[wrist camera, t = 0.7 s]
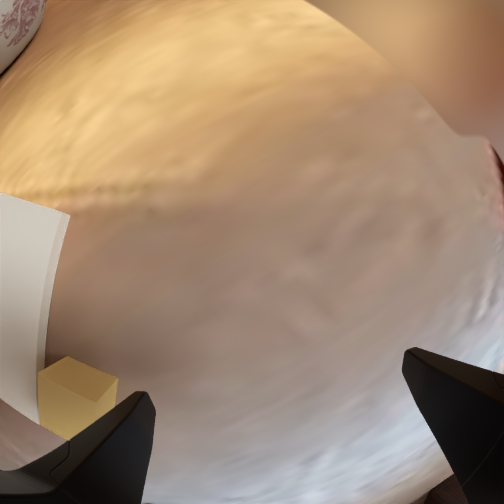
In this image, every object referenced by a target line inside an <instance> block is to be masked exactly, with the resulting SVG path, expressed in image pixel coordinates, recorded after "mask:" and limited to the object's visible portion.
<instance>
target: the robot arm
mask: <svg viewBox="0 0 504 504" xmlns="http://www.w3.org/2000/svg"><path fill="white" fill-rule="evenodd" d="M402 373H403V376H404V378H405V380H406V382H407V385H408V387H409V389H410V391H411V394H412V396H413V398H414V400H415V403H416V405H417V406H418V408H419V410H420V412H421V414H422V415H423V417H424V419H425V420H426V422H427V424H428V426H429V427H430V429H431V431H432V433H433V435H434V436H435V438H436V440H437V442H438V444H439V446H440V447H441V449H442V451H443V453H444V455H445V457H446V459H447V461H448V463H449V464H450V466H451V468H452V470H453V472H454V474H455V476H456V478H457V480H458V482H459V484H460V486H461V489H462V491H463V493H464V495H465V497H466V500H467V502H468V504H504V374H500V373H497V372H492V371H490V370H487V369H483V368H480V367H477V366H473V365H470V364H467V363H464V362H461V361H457V360H454V359H451V358H448V357H445V356H442V355H439V354H436V353H433V352H429V351H426V350H423V349H420V348H417V347H413V348H410V349H407V350H406V351H405V353H404V358H403V365H402ZM155 416H156V410H155V407H154V405H153V403H152V401H151V399H150V397H149V395H148V393H147V392H145V391H136V392H134V393H133V394H131V395H130V396H129V397H127V398H126V399H125V400H123V401H122V402H121V403H119V404H118V405H117V406H115V407H114V408H113V409H111V410H110V411H108V412H107V413H106V414H104V415H103V416H102V417H100V418H99V419H98V420H96V421H95V422H93V423H92V424H91V425H89V426H88V427H86V428H85V429H84V430H82V431H81V432H79V433H78V434H77V435H75V436H74V437H72V438H71V439H70V441H69V440H68V441H66V442H65V443H64V444H62V445H61V446H59V447H58V448H56V449H54V450H53V451H51V452H50V453H48V454H46V455H44V456H42V457H41V458H39V459H37V460H35V461H33V462H31V463H29V464H27V465H25V466H23V467H21V468H19V469H16V470H12V471H3V470H0V504H141V501H142V495H143V490H144V485H145V480H146V475H147V470H148V465H149V461H150V456H151V451H152V445H153V435H154V425H155Z"/></svg>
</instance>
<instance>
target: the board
mask: <svg viewBox="0 0 504 504" xmlns="http://www.w3.org/2000/svg"><path fill="white" fill-rule="evenodd" d="M69 219H70V215H68V214H65V213H63V212H60V211H57V210H54V209H51V208H48V207H44V206H41V205H38V204H35V203H32V202H29V201H25V200H22V199H19V198H16V197H13V196H10V195H7V194H4V193H1V192H0V398H1V399H2V400H3V401H5V402H6V403H7V404H9V405H10V406H11V407H13V408H14V409H16V410H17V411H18V412H20V413H21V414H23V415H24V416H26V417H27V418H29V419H30V420H32V421H34V422H35V423H37V424H38V425H39V424H40V420H39V407H38V372H40V371H41V370H43V369H44V367H45V347H46V335H47V325H48V317H49V309H50V302H51V296H52V290H53V285H54V279H55V274H56V270H57V265H58V260H59V256H60V252H61V248H62V244H63V240H64V237H65V233H66V229H67V226H68V223H69Z"/></svg>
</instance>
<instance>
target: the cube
mask: <svg viewBox="0 0 504 504" xmlns="http://www.w3.org/2000/svg"><path fill="white" fill-rule="evenodd" d="M117 384H118V377H115V376H113V375H110V374H107V373H105V372H103V371H100V370H98V369H95V368H93V367H91V366H88V365H86V364H84V363H82V362H80V361H77V360H75V359H73V358H71V357H69V356H66V357H65V358H63V359H61V360H59V361H58V362H56V363H54V364H52V365H50V366H49V367H47V368H45V369H43V370H41V371H40V372H38V407H39V420H40V425H41V426H43V427H45V428H46V429H48V430H50V431H52V432H53V433H55V434H57V435H59V436H61V437H63V438H64V439H66V440H69V441H70V439H71V438H72V437H74V436H75V435H77V434H78V433H79V432H81V431H82V430H84V429H85V428H86V427H88V426H89V425H91V424H92V423H93V422H95V421H96V420H98V419H99V418H100V417H102V416H103V415H104V414H106V413H107V412H108V411H110V410H111V409H113V408H114V407H115V400H116V391H117Z"/></svg>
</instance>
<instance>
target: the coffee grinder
mask: <svg viewBox="0 0 504 504" xmlns="http://www.w3.org/2000/svg"><path fill="white" fill-rule="evenodd" d="M424 504H468V502H467V500H466V497H465V495H464V493H463V491H462V489H461V486H460V484H459V482H458V480H457V478H456V476H455V474H453V475H452V476H450V477H449V478H447V479H446V480H444V481H443V482H441V483H440V484H439V485H437V486H436V487H434V488H433V489H432V490H431V491H430V492H429V494H428V496H427V498H426V500H425V502H424Z"/></svg>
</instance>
